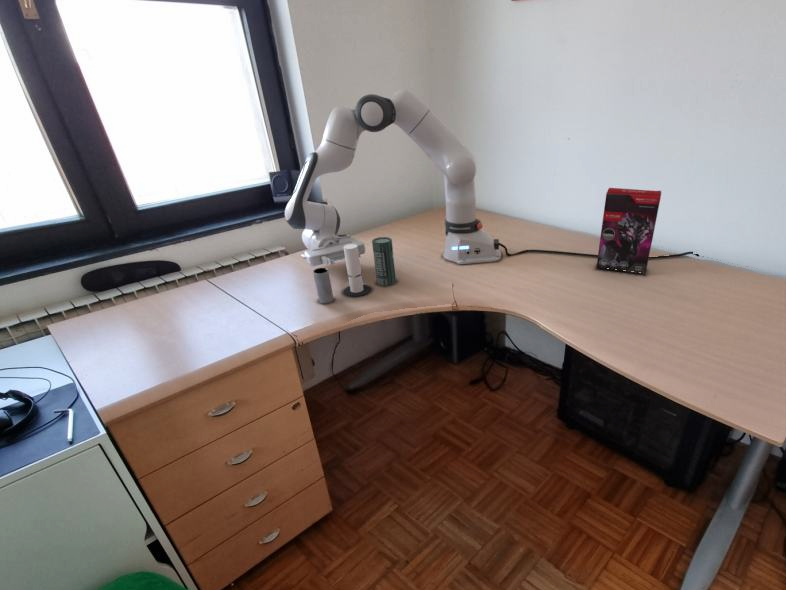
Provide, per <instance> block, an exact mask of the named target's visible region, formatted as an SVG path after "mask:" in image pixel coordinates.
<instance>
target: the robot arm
mask: <svg viewBox="0 0 786 590" xmlns="http://www.w3.org/2000/svg"><path fill="white" fill-rule="evenodd" d="M391 125H395V126H397V127H399V128H400V129H401V131H403V132H404V133H405V134H406V136H408V137H409V138H410V139H411V140H412V141H413V142H414V143H415V145H416V146H418V147H419V148H420V149H421V150H422V151H423V152H424V154H426V156H427V157H428V158H429V159H430V160H431V162H432V163H433V164H434V165H435V166H436V167H437V168H438V169H439V171H440V172H441V173H442V174H443V180H444V182H443V183H444V201H445V202H444V203H445V219H444V233H445V245H444V250H443V254H442V257H443V259H445V260H447V261H449V262H452V263H453V262H454V263H456V264H457V265H469V264H470V265H471V264H481V263H482V264H483V263H493V262H498V261H500V260H501V258H502V251H501V249H500V247H502V248H503V249H504V252H505V255H506V256H507V257H512V256H513V257H514V256H517V255H521V254H524V253H547V254H560V255H570V256H581V257H590V258H591V257H592V258H598V254H591V253H582V252H572V251H559V250H547V249H523V250H521V251H518V252H516V253H509V252H508V248H507V247H506V245H504V244H503V243H501V242H500V240H499V238H494V237H493V236H492V235H491V234H489V233H488V232H487V231H485V230H483V223H482V221H481V219H479V218H477V217H476V215H477V214H476V212H477V211H476V209H477V208H476V205H477V203H476V201H477V200H476V198H477V197H476V184H475V178H476V175H477V172H478V164H477V161H476V158H475V157H474V155H473V153H472V151H471V150H470V149H469V148H468V147H466V146H465V145H463V144H462V143H461V141H460V140H459V139H458V138H457V137H456V136H455V134H454V133H452V131H451V130H450V128H449V127H448V126H447V125H446V124H444V122H443V121H442V120H441V119H440V118H439V116H437V115H436V114H435V112H433V110H431V108H430V107H428V105H427V104H426V103H424V102H423V100H421V99H420V98H419V97H418V96H417V95H415V94H414V93H413V92H411V91H410V90H409V89H406V88H405V89H404V88H403V89H400V90H397V91H396V92H394V94H393V95H392V96H391V97H389V98H388V97H384V96H381V95H379V94H377V93H367V94H365V95H363V96H361V97H360V98H359V100H358V101H357V102H356V105H355V106H354V108H349V107H347V106H336V107H334V108H333V109H332V110H331V111H330V114H329V116H328V119H327V121H326V125H325V128H324V131H323V136H322V140H321V142H320V145H319V146H318V147H317V149H316V150H314V151H313V152H310V153H309V154H308V156H307V157H306V159H305V161H304V164H303V166H302V168H301V171H300V173H299V175H298V179H297V181H296V183H295V186H294V189H293V192H292V194H291V196H290V198H289V200H288V201H287V203H286V205H285V208H284V221H286V223H287V224H288V225H289V226H290V227H291V228H292V229H293V230H303V231H302V233H301V240H302V243H303V245H304V246H305V248H306V250H305V251H304V252H303V253H302V254H301V256H300V257H301V258H302V259H304V260H306V262H307V264H308V265H309V266H311V267H318V266H322V265H329V266H332V265H335V262H336V261H340V260H344V259H345V254H344V246H345V245H348V244H355V245H357V247H358V254H359V259H360V258H361V255H364V254H365V253H366V246H365V243H364V242H363V241H362V240H360V239H358V238H355V237H352V236H351V234H347V233H346V234H338V233H339V230H340V228H341V215H340V214H339V212H338V209H337V208H335V206H334V205H331V204H326V203H321V202H320V203H319V202H314V201H309V200H308V199H309V197H310V194H311V191H312V189H313V186H314V185H315V184H314V183H315V182H316V180H317V179H318V178H319V177H320V176H323V175H326V174H330V173H339V172H342V171H344V170H346V169H348V168H349V167H350V166H351V165H352V164H353V161H354V159H355V156H356V151H357V148H358V143H359V139H360V136H361V134H362V133H363V132H366V131H367V132H370V133H378V132H381V131H383V130H385V129H386V128H388V127H389V126H391ZM693 252H694V251H686V252H682V253H675V254H668V255H669V256H664V255H657V256H658V257H649V259H648V260H650V259H651V260H652V259H653V260H654V259H665V258H676V257H682V256H686V255H693V256H696V257H700V254H699V253H698V254H693Z"/></svg>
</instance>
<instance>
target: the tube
mask: <svg viewBox="0 0 786 590" xmlns="http://www.w3.org/2000/svg"><path fill="white" fill-rule="evenodd" d="M344 254H345V266H346V271H347V272H346V273H347V278H348V283H349V286H350V291H351V292H354V293H357V292H361V291H363V290H364V289H363V285H364V282H363V277H362V268H361V263H360V262H361V261H360V258H359V254H358V247H357V245H355V244H348V245H345V246H344Z"/></svg>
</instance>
